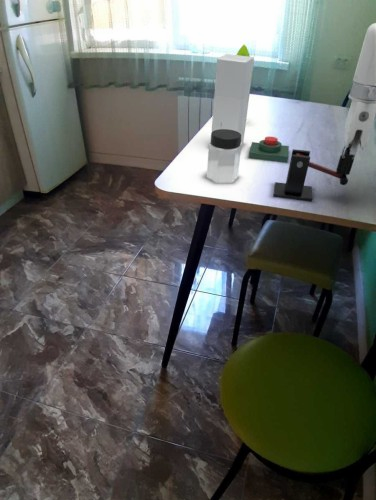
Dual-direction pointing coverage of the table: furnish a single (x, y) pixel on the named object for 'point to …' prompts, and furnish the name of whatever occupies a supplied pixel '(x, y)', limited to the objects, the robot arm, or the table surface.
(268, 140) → the button
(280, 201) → the table surface
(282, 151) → the button box
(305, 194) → the lever stand
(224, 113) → the tall white carton
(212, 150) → the jar
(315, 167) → the red lever handle
